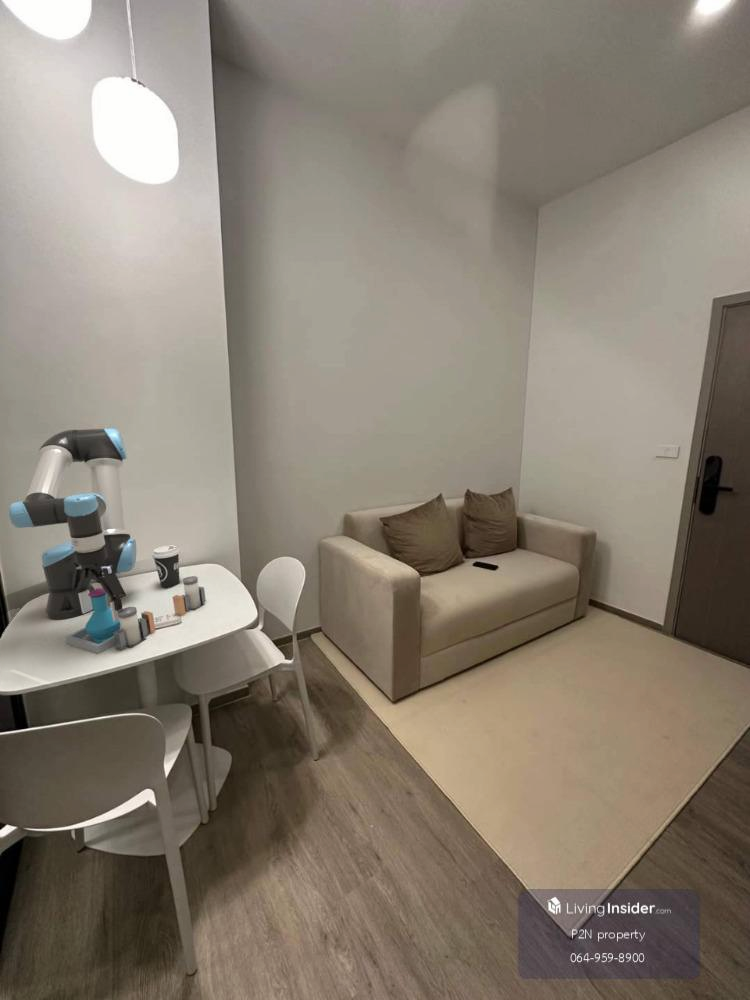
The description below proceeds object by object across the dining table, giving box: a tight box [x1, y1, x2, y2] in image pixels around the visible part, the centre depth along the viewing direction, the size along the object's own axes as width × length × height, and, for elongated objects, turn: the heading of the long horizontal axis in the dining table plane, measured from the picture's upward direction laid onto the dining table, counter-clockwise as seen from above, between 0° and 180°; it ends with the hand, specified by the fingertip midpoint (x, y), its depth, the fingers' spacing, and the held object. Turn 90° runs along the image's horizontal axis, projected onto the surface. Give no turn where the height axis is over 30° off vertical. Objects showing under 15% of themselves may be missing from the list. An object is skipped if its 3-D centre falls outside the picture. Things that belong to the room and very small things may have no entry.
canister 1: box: [118, 606, 141, 646], centre depth 115 cm, size 5×5×10 cm
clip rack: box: [113, 586, 207, 651], centre depth 126 cm, size 6×31×7 cm, turn 158°
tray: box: [65, 627, 115, 655], centre depth 120 cm, size 14×14×3 cm
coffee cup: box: [151, 544, 181, 589], centre depth 155 cm, size 10×10×15 cm
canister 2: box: [182, 575, 201, 609], centre depth 136 cm, size 5×5×10 cm
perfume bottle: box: [84, 587, 121, 643], centre depth 118 cm, size 9×9×15 cm
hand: (102, 615), depth 119 cm, fingers open, 13 cm apart
